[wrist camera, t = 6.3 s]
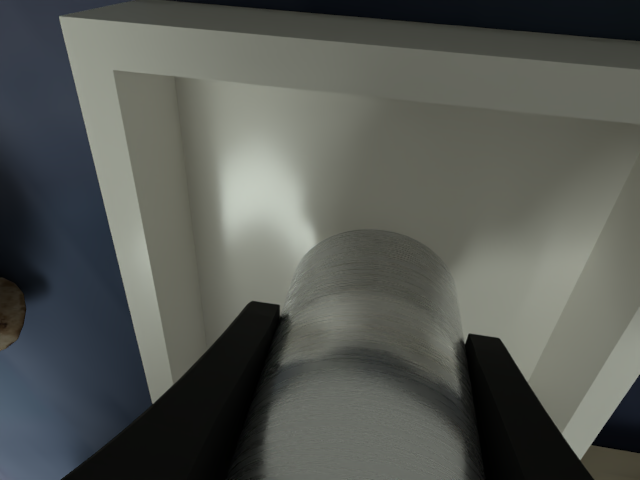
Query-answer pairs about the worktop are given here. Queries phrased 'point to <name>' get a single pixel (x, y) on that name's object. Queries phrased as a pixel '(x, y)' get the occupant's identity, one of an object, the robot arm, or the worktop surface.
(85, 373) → the worktop surface
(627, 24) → the worktop surface
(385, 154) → the dish
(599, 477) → the trough
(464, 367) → the cylinder
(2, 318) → the mushroom
